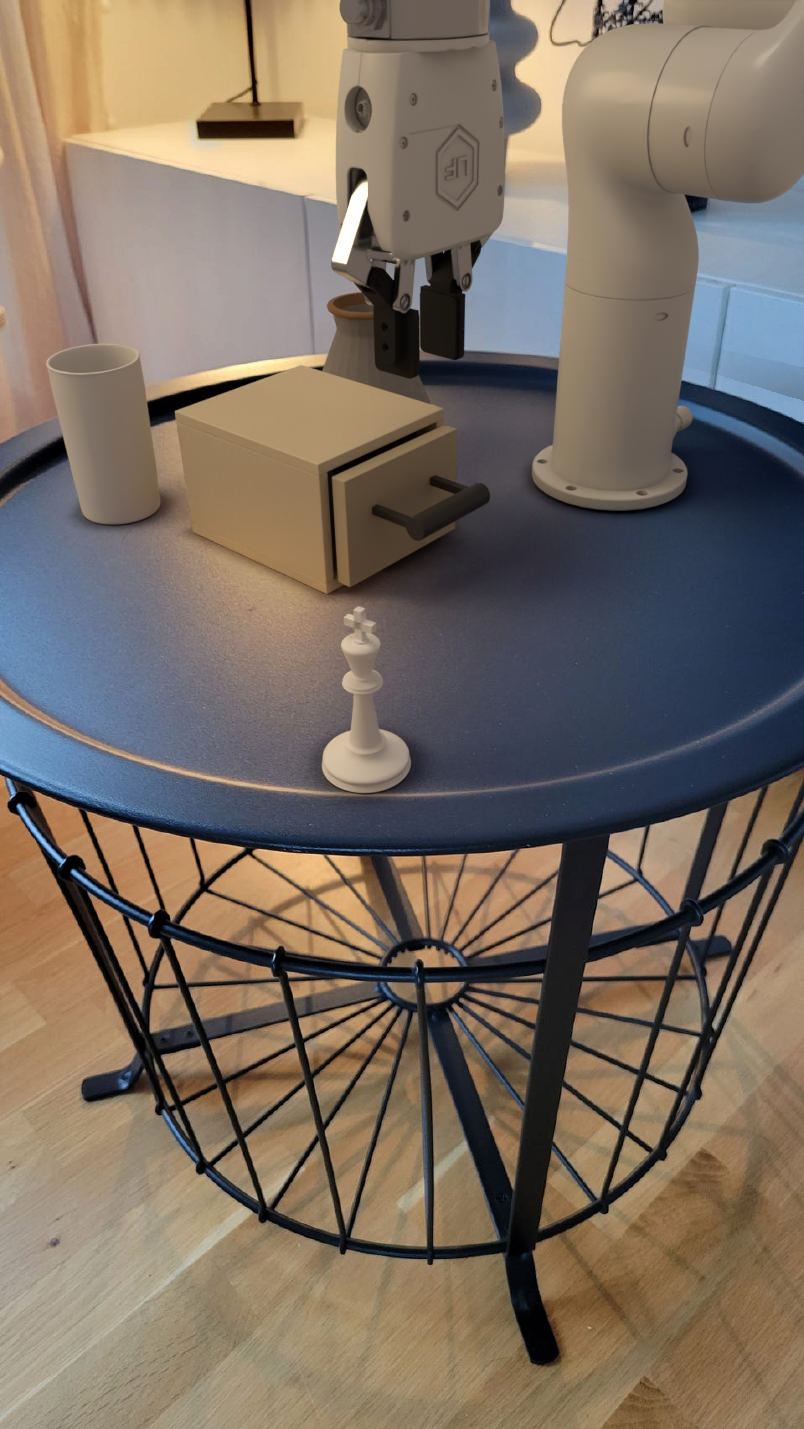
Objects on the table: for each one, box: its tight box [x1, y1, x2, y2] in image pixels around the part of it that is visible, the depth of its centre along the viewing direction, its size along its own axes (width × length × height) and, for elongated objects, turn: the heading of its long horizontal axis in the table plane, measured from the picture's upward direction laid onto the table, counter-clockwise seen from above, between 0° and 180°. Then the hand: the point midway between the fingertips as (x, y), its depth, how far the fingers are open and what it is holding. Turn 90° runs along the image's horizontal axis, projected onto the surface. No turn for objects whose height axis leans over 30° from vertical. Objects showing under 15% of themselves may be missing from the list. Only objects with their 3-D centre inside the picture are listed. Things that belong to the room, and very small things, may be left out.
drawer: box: [327, 424, 491, 588], centre depth 75 cm, size 18×11×8 cm, turn 48°
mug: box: [45, 343, 162, 525], centre depth 82 cm, size 10×7×12 cm, turn 178°
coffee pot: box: [321, 291, 432, 405], centre depth 92 cm, size 21×12×15 cm, turn 1°
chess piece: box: [321, 605, 412, 794], centre depth 55 cm, size 5×5×10 cm
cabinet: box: [174, 364, 445, 595], centre depth 78 cm, size 15×13×10 cm
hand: (419, 361), depth 66 cm, fingers open, 3 cm apart
